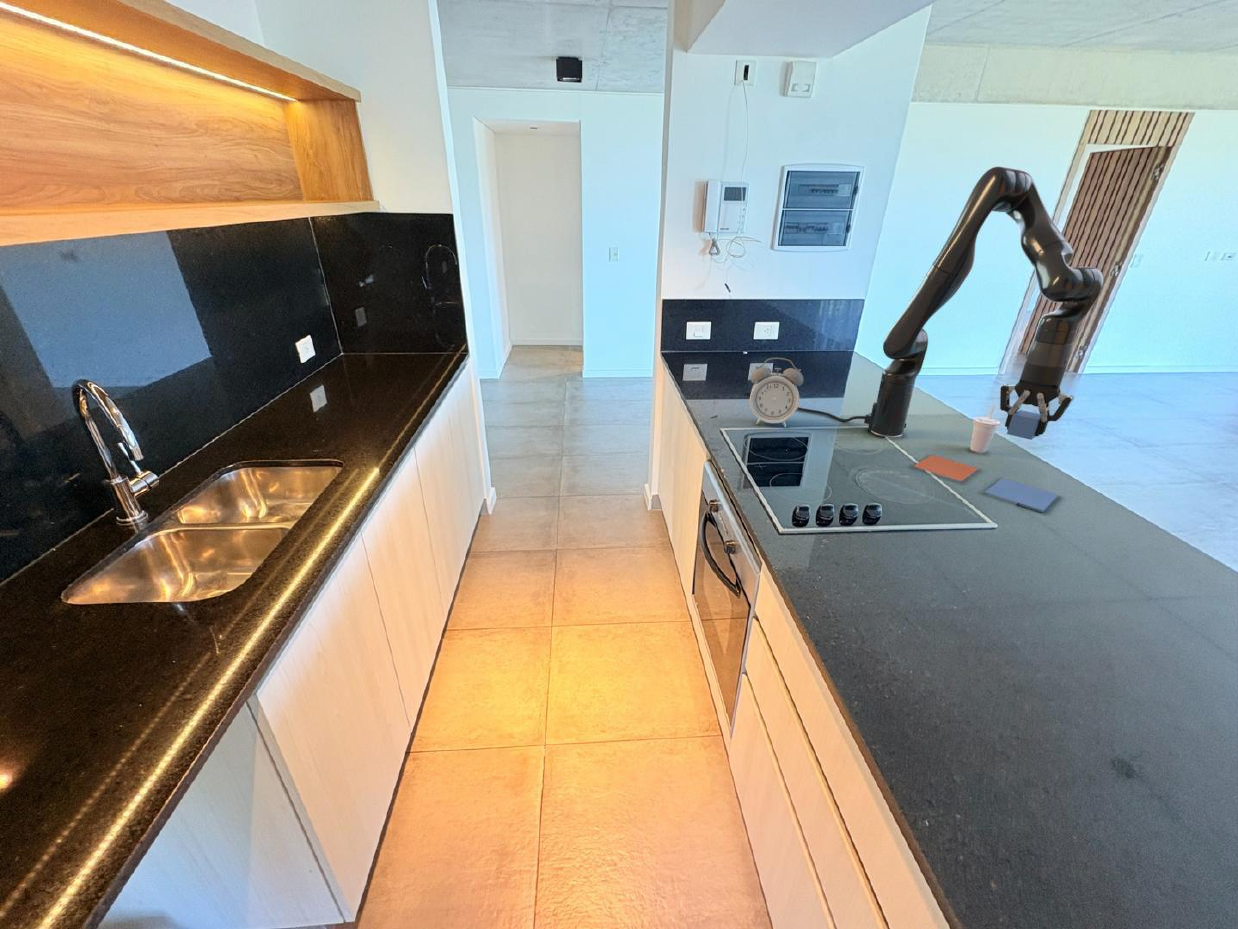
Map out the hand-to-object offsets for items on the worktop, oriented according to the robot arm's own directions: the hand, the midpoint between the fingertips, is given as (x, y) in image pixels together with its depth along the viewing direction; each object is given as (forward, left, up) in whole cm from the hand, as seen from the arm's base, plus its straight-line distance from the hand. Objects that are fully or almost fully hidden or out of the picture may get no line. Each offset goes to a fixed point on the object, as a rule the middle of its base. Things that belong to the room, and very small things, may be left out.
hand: (1023, 432), depth 125 cm
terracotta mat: (-14, +2, -15) cm, 21 cm away
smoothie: (-13, +22, -16) cm, 30 cm away
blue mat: (+4, 0, -15) cm, 16 cm away
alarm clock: (-66, -4, -16) cm, 68 cm away
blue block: (0, 0, -1) cm, 1 cm away
